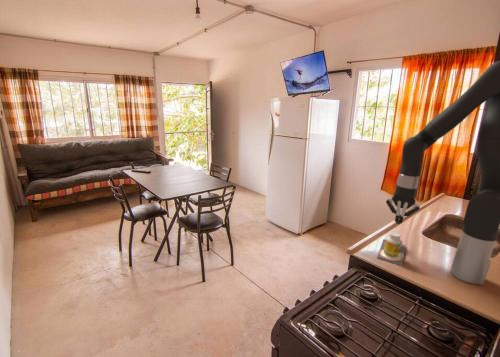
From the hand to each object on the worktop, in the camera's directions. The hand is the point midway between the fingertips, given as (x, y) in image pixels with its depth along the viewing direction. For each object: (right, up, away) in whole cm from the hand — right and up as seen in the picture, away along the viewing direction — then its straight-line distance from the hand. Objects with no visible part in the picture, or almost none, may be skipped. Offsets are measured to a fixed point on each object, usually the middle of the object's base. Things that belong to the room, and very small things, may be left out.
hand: (398, 223), depth 111 cm
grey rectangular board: (-3, -12, 0) cm, 13 cm away
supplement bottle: (-6, -13, -4) cm, 14 cm away
